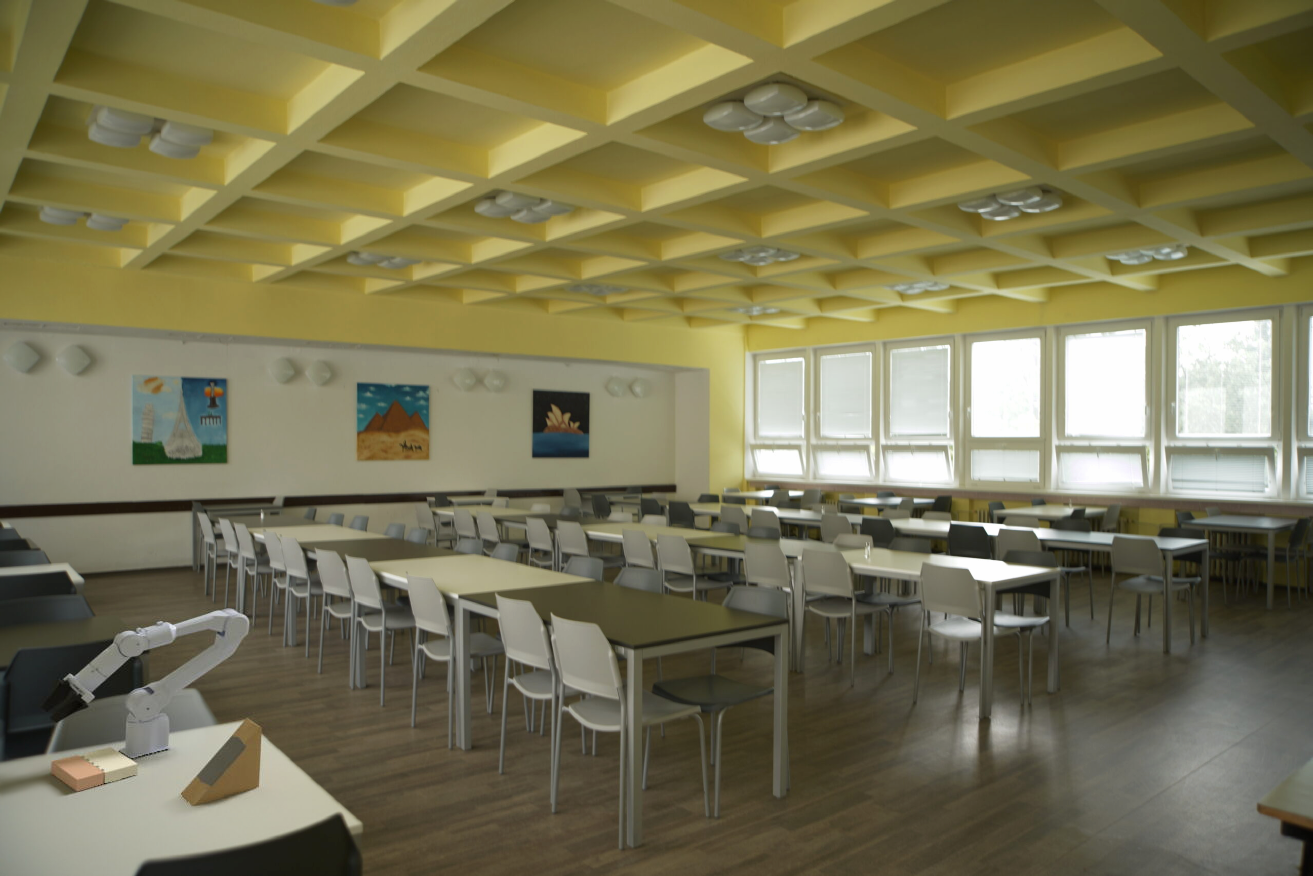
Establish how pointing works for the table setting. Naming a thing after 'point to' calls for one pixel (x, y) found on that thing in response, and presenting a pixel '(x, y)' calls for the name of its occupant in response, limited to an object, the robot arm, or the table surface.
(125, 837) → the table surface
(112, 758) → the board
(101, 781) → the block
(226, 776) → the sandwich container
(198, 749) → the table surface
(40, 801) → the table surface
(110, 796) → the table surface
